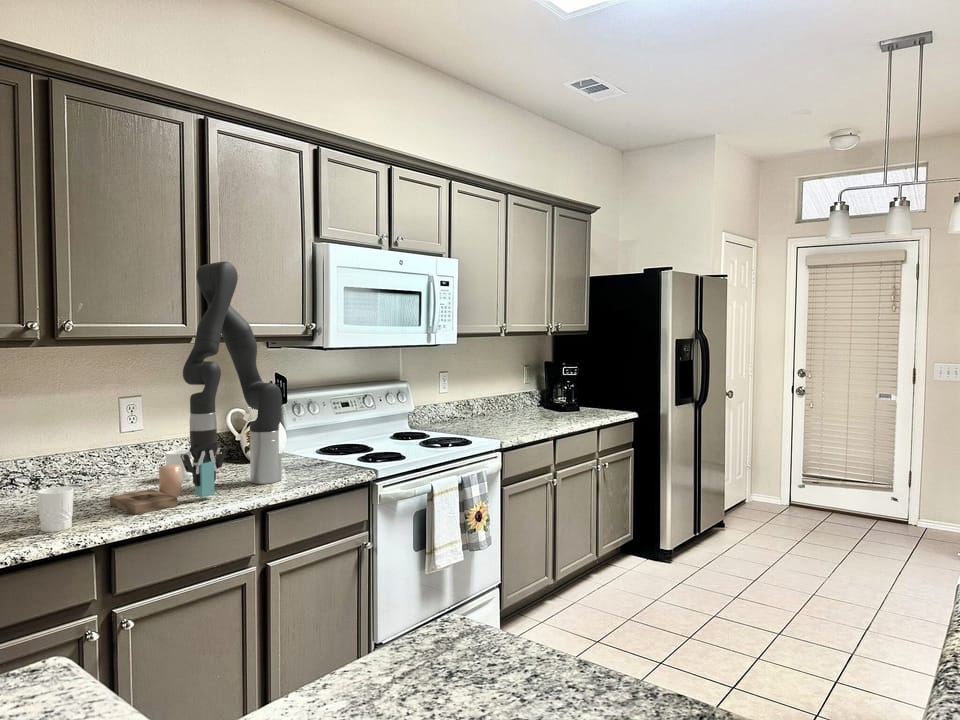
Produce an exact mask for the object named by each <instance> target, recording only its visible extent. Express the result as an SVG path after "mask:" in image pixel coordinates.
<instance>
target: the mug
mask: <svg viewBox="0 0 960 720" xmlns="http://www.w3.org/2000/svg"><path fill="white" fill-rule="evenodd" d="M189 450H190V449H174V450H169V451H168V450H167V451H166V452H165V465H181V482H186V481H187V482H188V481H193V474H192V473H190V472H186V470H185V467H184V464H183V462H182V459H181V454H185V453H187V452H189ZM190 461H191V464H192V463H193V457H192V455H191V459H190ZM192 466H193V465H192Z"/></svg>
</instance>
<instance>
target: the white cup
mask: <svg viewBox="0 0 960 720" xmlns="http://www.w3.org/2000/svg"><path fill="white" fill-rule="evenodd" d="M36 493H37V507H38V516H39V521H40V531H41V532H43V533H55V532H62V531H66V530H70V529H71V528H72V526H73V512H74V487H72V486H55V487H54V486H53V487H47V488H42V489H39V490H37V492H36Z"/></svg>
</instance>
